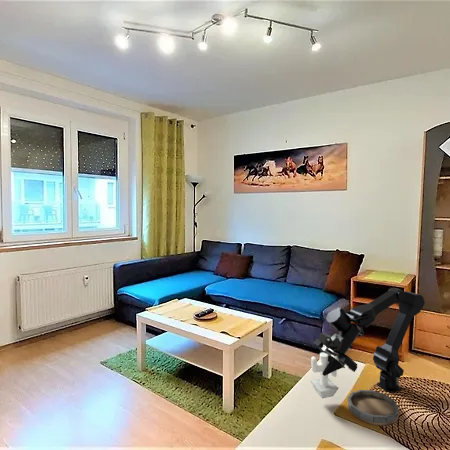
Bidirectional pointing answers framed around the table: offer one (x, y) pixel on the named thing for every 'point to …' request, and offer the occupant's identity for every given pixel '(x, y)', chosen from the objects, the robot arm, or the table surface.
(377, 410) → the brown round plate
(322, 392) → the figurine
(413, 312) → the robot arm
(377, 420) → the round grey tray
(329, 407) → the table surface
